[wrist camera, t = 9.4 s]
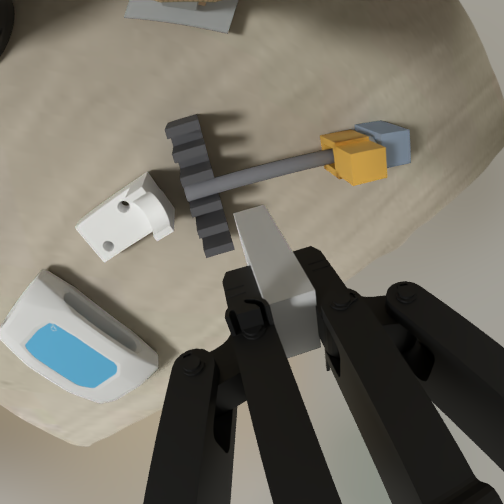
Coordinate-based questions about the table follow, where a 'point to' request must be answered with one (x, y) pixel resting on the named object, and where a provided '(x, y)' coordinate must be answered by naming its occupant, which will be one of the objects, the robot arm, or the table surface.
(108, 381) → the document scanner
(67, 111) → the table surface
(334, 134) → the yellow notched block
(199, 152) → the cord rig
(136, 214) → the bracket
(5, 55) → the table surface
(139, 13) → the desk lamp
